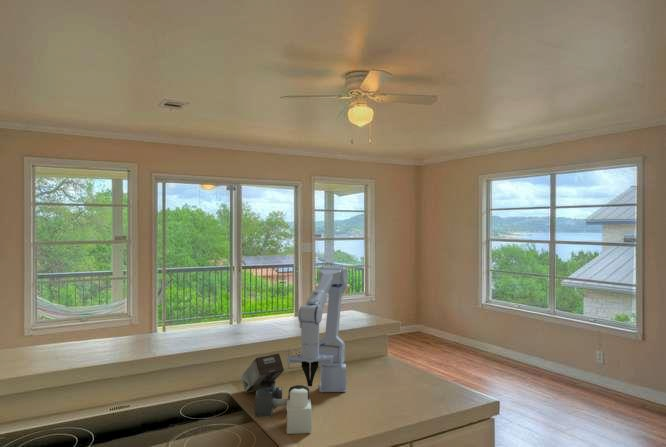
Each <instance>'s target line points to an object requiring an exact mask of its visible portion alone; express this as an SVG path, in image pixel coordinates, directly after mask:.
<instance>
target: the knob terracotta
mask: <svg viewBox="0 0 666 447" xmlns="http://www.w3.org/2000/svg"><path fill="white" fill-rule="evenodd" d="M287 400H289V394H288V395H287V398H282V399H272V406H274V407H275V406H279V407H280V406H283V407H284V406H286V407H287Z"/></svg>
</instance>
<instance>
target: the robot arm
mask: <svg viewBox="0 0 666 447" xmlns="http://www.w3.org/2000/svg"><path fill="white" fill-rule="evenodd" d="M348 272H349V271H348V269H347V268H346V266H324V265H321V266H320V267H319V269H318V275H317V276H318V284H317V287H316V289H314V290H312V291H311V293H310V295H309V297H308V299H307V301H306V302H305V304H303V305H301V306H300V307H299V309H298V314H297V318H298V322H299V329H301V333H300V336H301V337H300V346H301V349H300V354H294V355H287V357H286V364H293V363H294V364H295V363H296V364H297V363H299V364H300V363H301V368H302V371H303V373H304V375H305V379H306V384H307V387H313V381H314V378H315V374H316V372H317V370H318V368H319V365H320V382H319V383H318V384H319V386H318V387H319V392H320V393H346V392H347V385H348V384H347V383H348V380H347V364H346V363H345V360H346V344H345V343H346V342H345V341H344V340H342V339H341V337H339V329H340V322H341V321H340V319H341V308H342V297H343V296H342V295H343V292H344V291H346V290H347V287H348V280H349V278H348V277H349V273H348ZM327 294H328V296H327ZM326 303H327V311H326V312H327V313H326V320H325V321H326V322H325V323H326V324H325V331H324V332H325V333H324V336H323V337H321V338H320V323H321V321H322V319H323V313H324V307H325V305H326Z"/></svg>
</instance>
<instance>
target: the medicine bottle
mask: <svg viewBox="0 0 666 447" xmlns="http://www.w3.org/2000/svg"><path fill="white" fill-rule="evenodd" d="M288 395H289V400H287V406H286V411H285V412H286V414H285V416H286V418H285V419H286V422H285V423H286V428H285V429H286V432H285V433H286V434H287V435H293V434H295V435H296V434H300V435H301V434H311V433H312V402H311V398H310V389H309V386H307V385H301V384H300V385H299V384H298V385H297V384H296V385H292V386H291V387H290V388H289V389H288Z"/></svg>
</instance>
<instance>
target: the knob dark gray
mask: <svg viewBox="0 0 666 447" xmlns="http://www.w3.org/2000/svg"><path fill="white" fill-rule="evenodd" d="M256 393H257V390H256V392H255V394H256ZM274 397H275V399H283V387H282V386H281V387H280V386H279V387H277V386H276V391H274Z"/></svg>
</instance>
